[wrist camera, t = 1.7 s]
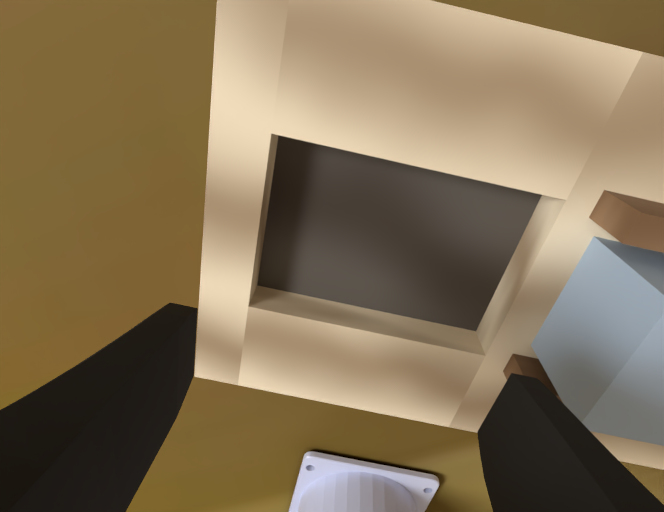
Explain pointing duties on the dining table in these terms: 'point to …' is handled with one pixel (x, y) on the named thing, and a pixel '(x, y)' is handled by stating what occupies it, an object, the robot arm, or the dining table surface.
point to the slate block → (610, 341)
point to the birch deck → (407, 197)
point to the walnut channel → (627, 227)
